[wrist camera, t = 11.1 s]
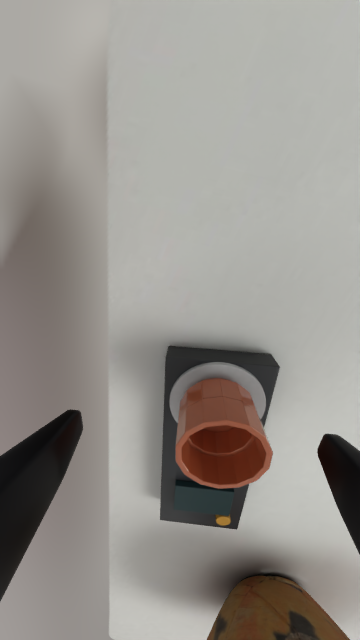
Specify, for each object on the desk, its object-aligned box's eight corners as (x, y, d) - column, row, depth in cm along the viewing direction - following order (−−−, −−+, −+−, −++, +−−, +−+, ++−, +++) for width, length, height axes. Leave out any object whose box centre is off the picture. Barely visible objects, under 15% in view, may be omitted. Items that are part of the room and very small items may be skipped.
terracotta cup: (168, 415, 18) (160, 468, 14) (201, 362, 16) (203, 405, 12) (228, 441, 18) (238, 500, 14) (267, 393, 16) (293, 445, 12)
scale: (168, 345, 18) (164, 361, 16) (271, 354, 18) (283, 371, 15) (162, 500, 26) (159, 526, 23) (234, 508, 25) (238, 536, 23)
